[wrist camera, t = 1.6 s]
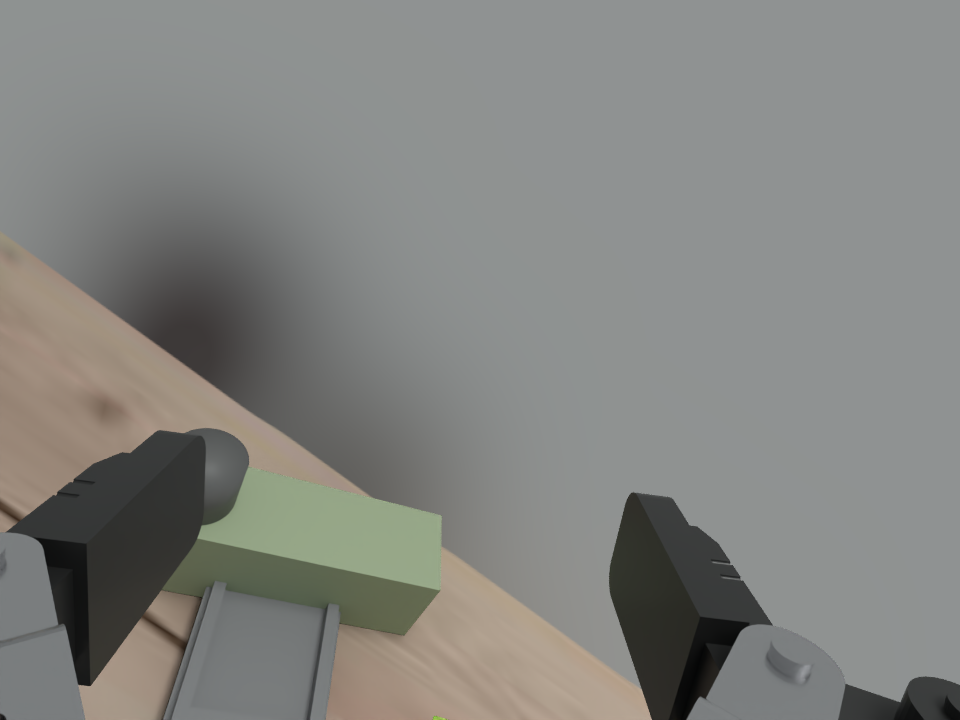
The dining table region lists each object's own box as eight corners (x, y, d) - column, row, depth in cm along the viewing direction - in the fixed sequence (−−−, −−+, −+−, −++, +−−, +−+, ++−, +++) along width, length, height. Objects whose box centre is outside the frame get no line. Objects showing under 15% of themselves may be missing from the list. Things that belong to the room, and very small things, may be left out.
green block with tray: (396, 763, 53) (465, 699, 45) (54, 722, 45) (64, 635, 37) (408, 562, 67) (462, 486, 59) (151, 504, 59) (173, 407, 51)
